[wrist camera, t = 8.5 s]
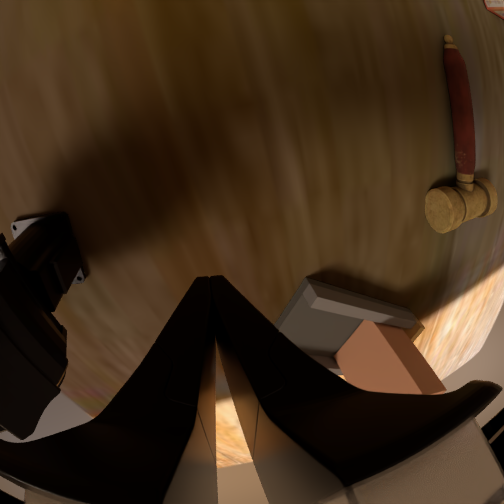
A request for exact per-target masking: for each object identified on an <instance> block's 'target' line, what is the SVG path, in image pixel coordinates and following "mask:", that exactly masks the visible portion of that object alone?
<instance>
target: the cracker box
mask: <svg viewBox="0 0 504 504" xmlns="http://www.w3.org/2000/svg"><path fill="white" fill-rule="evenodd" d="M484 3H485V6H486V8H487V10H489V11H490V12H492V13H494V14H496V15H497V16H499V17H500V18H502V19H504V0H484Z"/></svg>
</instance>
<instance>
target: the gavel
mask: <svg viewBox="0 0 504 504" xmlns="http://www.w3.org/2000/svg"><path fill="white" fill-rule="evenodd" d="M444 40H445V42H446V44H445V45H444V59H443V62H444V67H445V72H446V77H447V83H448V89H449V95H450V102H451V110H452V119H453V131H454V148H455V164H456V170H457V180H456V186H455V187H451V188H450V187H447V186H443V187H439V188H435V189H431V190H430V191H428V193H427V195H426V203H425V215H426V218H427V220H428V222H429V224H430V226H431V227H432V228H433V229H434V230H435V231H437V232H439V233H446V232H448V231H451V230H453V229H456V228H458V227H459V226H460V224H461V223H463V222H466V221H468V220H471V219H473V218H476V217H478V218H482V217H485V216H487V215H490V214H492V213H493V212H494V211H495V209H496V206H497V193H496V190H495V188H494V186H493V185H492V183H491V182H490V181H489V180H487V179H485V178H477V179H474V169H475V131H474V118H473V108H472V100H471V93H470V86H469V81H468V75H467V70H466V65H465V62H464V60H463V58H462V56H461V55H460V53H459V51H458V49H457V46H456V45H454V44H453V39H452V37H451V36H449V35H445V36H444Z"/></svg>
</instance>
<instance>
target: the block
mask: <svg viewBox="0 0 504 504" xmlns="http://www.w3.org/2000/svg"><path fill="white" fill-rule="evenodd" d="M334 358H335V360H336V361H337V363H338V365H339V367H340V369H341V371H342V373H343V375H344V377H345V379H346V381H347V382H348V383H350V384H352V385H354V386H356V387H358V388H361V389H363V390H367V391H373V392H385V393H400V394H429V395H432V394H443V393H444V392H445V391H446V388H445V387H444V385H443V384H442V382H441V381H440V379H439V378H438V377H437V375H436V374H435V372H434V371H433V369H432V368H431V367H430V365H429V364H428V363H427V361H426V360H425V358H424V357H423V356H422V354H421V353H420V352H419V350H418V349H417V348H416V346H415V345H414V344H413V342H412V341H411V340H410V338H409V337H408V336H407V334H406V333H405V332H404V331H403V329H402V328H401V327H398V326H393V325H388V324H383V323H378V322H373V321H369V320H363V322H362V323H361V324H360V325H359V327H358V328H357V329H356V330H355V332H354V333H353V334H352V335H351V337H350V338H349V339H348V340H347V341H346V342H345V344H344V345H343V346H342V347H341V348H340V349H339V351H338V352H337V353H336V354H335V355H334Z"/></svg>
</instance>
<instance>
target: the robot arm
mask: <svg viewBox="0 0 504 504" xmlns="http://www.w3.org/2000/svg"><path fill="white" fill-rule="evenodd" d="M61 216H62V217H63V218H64V220H62V219H61ZM15 226H16V227H17V228H16V227H15ZM11 230H12V233H13V236H14V239H15V240H14V241H13V242H12V243H11V244H10V245H9V246H8V245H7V243H6V241H5V240H6V238H5V237H4V235H3V233H1V234H0V433H1V432H4V431H8V432H10V433H11V434H13V435H14V436H16V437H17V438H19V439H20V440H24V439H25V438H27V437H28V436H30V435H31V434H32V433H33V432H34V430H35V428H36V426H37V424H38V421H39V419H40V417H41V415H42V413H43V411H44V410H45V408H46V407H47V405H48V404H49V403H50V401H51V400H53V399H54V397H56V396H57V395H58V394H59V393H60V391H61V389H60V388H59V387H60V385H61V384H62V382H63V380H64V377H65V374H66V369H67V366H68V359H67V358H66V347H67V330H66V329H65V328H64V326H63V325H60V323H59V322H58V321H57V320H56V318H55V317H54V316H53V314H52V313H51V312H55V310H56V307H57V305H58V303H59V301H60V299H61V298H62V296H63V294H66V293H67V292H68V290H69V288H70V286H71V284H78V283H83V282H84V281H85V278H86V276H85V273H84V270H83V267H82V264H83V262H82V259H81V256H80V253H79V249H78V246H77V242H76V238H75V237H74V236H73V232H72V229H71V225H70V220H69V216H68V214H67V213H66V212H57V213H52V214H46V215H41V216H36V217H30V218H25V219H21V220H16V221H14V222H13V223H12V224H11ZM79 276H80V277H81V278H79ZM215 337H216V340H215ZM216 343H217V347H218V351H219V354H220V358H221V362H222V365H223V369H224V372H225V376H226V379H227V383H228V386H229V389H230V393H231V396H232V399H233V402H234V406H235V409H236V412H237V415H238V418H239V421H240V424H241V427H242V430H243V434H244V436H245V439H246V442H247V445H248V448H249V451H250V454H251V457H252V459H253V462H254V465H255V468H256V471H257V473H258V476H259V479H260V481H261V484H262V487H263V489H264V492H265V494H266V497H267V499H268V502H269V504H504V408H503V409H501V410H500V411H499V412H498V413H497V414H496V415H495V416H494V417H493V418H492V419H491V420H490V421H489V422H488V423H486V424H485V425H484V426H483V427H482V428H480V426H479V424H478V423H477V421H476V419H475V417H476V416H477V415H478V414H479V413H480V412H481V411H483V410H484V409H485V408H486V407H487V406H488V405H489V404H490V403H491V402H492V401H493V400H494V399H495V398H496V396H497V395H498V394H499V393H500V392H501V391H502V387H501V386H499V385H498V384H495V383H493V382H490V381H481V380H473V381H470V382H469V383H467V384H466V385H464V386H463V387H461V388H459V389H458V390H456V391H453V392H449V393H445V394H432V395H429V394H400V393H385V392H373V391H367V390H363V389H361V388H358V387H356V386H354V385H352V384H350V383H348V382H347V381H345V380H344V379H342V378H341V377H339V376H338V375H336V374H335V373H333V372H332V371H330V370H329V369H327V368H326V367H325V366H323V365H322V364H320V363H319V362H317V361H316V360H314V359H313V358H312V357H310V356H309V355H308V354H306V353H305V352H304V351H302V350H301V349H300V348H299V347H297V346H296V345H295V344H294V343H293V342H292V341H291V340H289V339H288V338H287V337H286V336H285V335H284V334H283V333H282V332H280V331H279V329H277V328H276V327H275V326H274V325H273V324H272V323H271V322H270V321H269V320H268V319H267V318H266V317H265V316H264V315H263V314H262V313H261V312H260V311H259V310H258V309H256V308H255V307H254V306H253V305H252V304H251V303H250V302H249V301H248V300H247V299H246V298H245V297H244V296H243V295H242V294H241V293H240V292H239V291H238V290H237V289H236V288H235V287H234V286H233V285H232V284H231V283H230V282H229V281H228V280H227V279H226V278H225V277H224V276H222V275H217V276H211V277H210V278H209V277H208V276H204V277H197V278H196V279H195V280H194V282H193V283H192V285H191V286H190V288H189V289H188V291H187V292H186V294H185V295H184V297H183V299H182V300H181V302H180V303H179V305H178V306H177V308H176V309H175V311H174V312H173V314H172V316H171V317H170V319H169V320H168V322H167V323H166V325H165V326H164V328H163V330H162V331H161V333H160V334H159V336H158V338H157V339H156V341H155V343H154V344H153V345H152V347H151V349H150V350H149V352H148V353H147V355H146V356H145V358H144V359H143V361H142V362H141V364H140V365H139V366H138V368H137V369H136V370H135V372H134V373H133V374H132V376H131V377H130V378H129V379H128V381H127V382H126V383H125V384H124V385H123V387H122V388H121V389H120V390H119V392H118V393H117V394H116V395H115V397H114V398H113V399H112V400H111V402H110V403H109V404H108V405H107V406H106V408H105V409H104V410H103V411H102V412H101V413H100V414H99V415H98V416H97V417H95V418H94V419H92V420H91V421H89V422H87V423H85V424H82V425H79V426H76V427H74V428H71V429H68V430H65V431H62V432H59V433H56V434H53V435H50V436H47V437H44V438H41V439H38V440H34V441H30V442H24V443H12V442H7V441H4V440H2V439H0V476H2V477H3V478H5V479H7V480H9V481H11V482H13V483H14V484H16V485H18V486H20V487H22V488H24V489H25V500H24V501H22V500H20V499H18V498H16V497H14V496H12V495H10V494H8V493H6V492H4V491H2V490H1V489H0V504H218V493H217V466H216V416H215V372H216Z"/></svg>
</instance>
